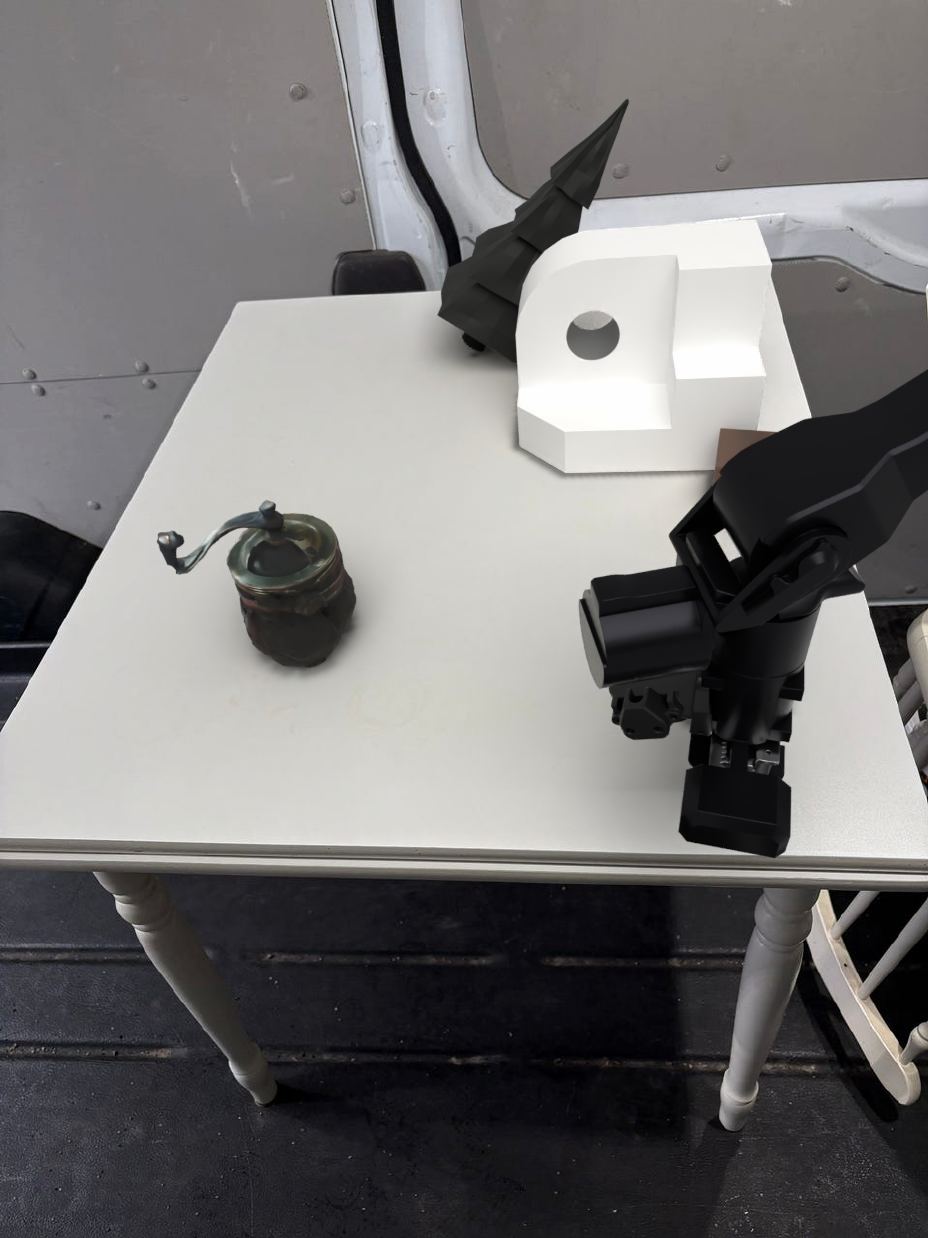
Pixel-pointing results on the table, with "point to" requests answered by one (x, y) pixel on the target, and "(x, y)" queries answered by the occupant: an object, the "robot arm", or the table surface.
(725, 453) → the walnut block
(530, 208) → the decorative tree
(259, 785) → the table surface
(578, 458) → the stepped bracket block
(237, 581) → the coffee grinder
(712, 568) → the robot arm
